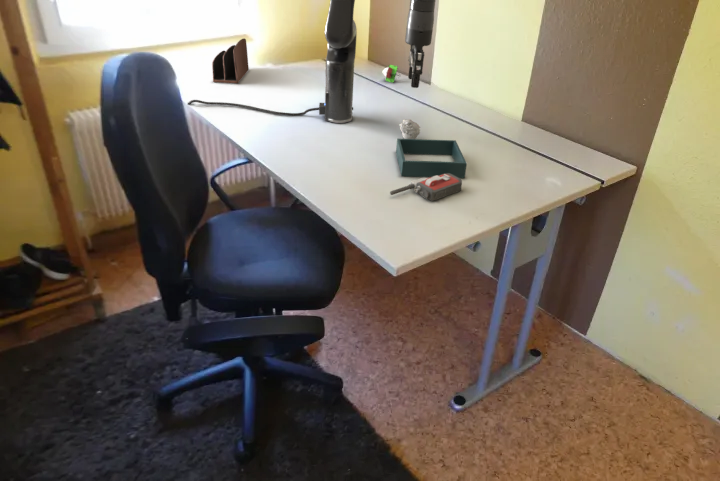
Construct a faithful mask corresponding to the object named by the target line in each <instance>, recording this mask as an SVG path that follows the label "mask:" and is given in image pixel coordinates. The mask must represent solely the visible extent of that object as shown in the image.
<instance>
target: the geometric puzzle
mask: <svg viewBox="0 0 720 481" xmlns="http://www.w3.org/2000/svg"><path fill="white" fill-rule="evenodd" d="M398 69H399V66H398V65H393V64H388V66H386V67H384V68H383V70H382V71H381V72H382V75H383V77H385V78H383V79H384V81H385V82H388V83H391V84H394V83H395V81H396V76H397V77H398V79H400V76H401V74H400V73H399V72H398ZM397 73H398V74H397Z"/></svg>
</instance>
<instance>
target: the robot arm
mask: <svg viewBox="0 0 720 481" xmlns="http://www.w3.org/2000/svg"><path fill="white" fill-rule="evenodd" d="M409 1H410V2H409V9H408V12H407V13H408V14H407V18H406V30H405V38H404V41H405V43H406V44H407V45H410V48H409V55H408V60H407V61H408V66H409V67H408V74H407V77H408V78H407V79H409V80H411V82H410V86H411V88H412V89H413V88H414V89H418V88H419V87H420V81H421V80H420V79H421V76H422V75H423V70H424V69H423V68H424V59H425V51H424V49H423V48H424V47H428V46H430V45H431V44H432V38H433V31H434V22H435V8H436V1H437V0H409ZM355 2H356V0H330V1H329V7H328V11H327V12H328V13H327V17H326V22H325V27H324V37H325V40H326V42H327V51H326V57H325V86H324V88H325V92H324V102H319V103H318V107H312V108H308V109H306V110H304V111H302V112H296V113H294V112H293V113H292V112H283V111H275V110H270V109H266V108H261V107H256V106H251V105H247V104H241V103H234V102H233V103H232V102H223V101H219V102H218V101H204V100H200V99H192V100H189V101H188V102H187V105H189V106H190V105H191V104H194V103H197V104H198V103H199V104H204V105H211V106H212V105H213V106H214V105H215V106H232V107H240V108H245V109H246V108H247V109H251V110H254V111H259V112H265V113H268V114H274V115H279V116H280V115H281V116H289V117H290V116H291V117H294V116H295V117H298V116H303V115H306V114H308V113H310V112H313V111H314V112H315V111H318V115H319V116H320V115H321V116H324V121H325V122H329V123H334V124H343V123H344V124H345V123H349V122H351V121H352V120H353V111H354V107H353V104H354V102H353V100H354V78H355V62H356V61H355V60H356V51H357V36H358V34H357V33H358V32H357V30H358V28H357V23H356V21H355V20H354V12H355V10H354V9H355Z"/></svg>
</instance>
